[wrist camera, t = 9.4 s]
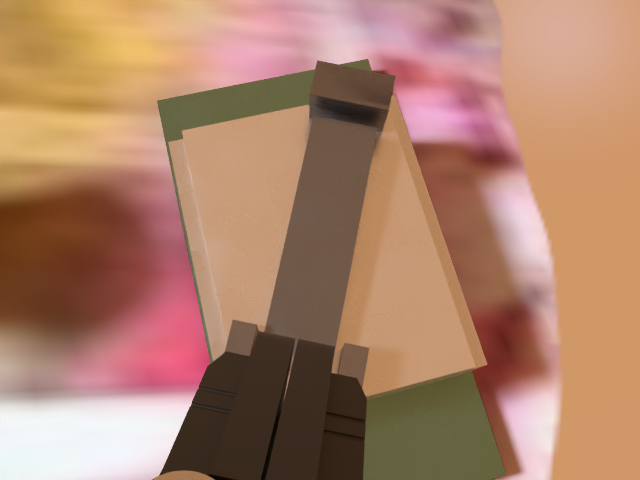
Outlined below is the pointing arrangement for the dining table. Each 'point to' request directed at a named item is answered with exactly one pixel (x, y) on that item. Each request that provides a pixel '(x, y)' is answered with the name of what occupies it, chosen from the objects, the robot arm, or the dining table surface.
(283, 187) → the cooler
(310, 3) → the dining table surface
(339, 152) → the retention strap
